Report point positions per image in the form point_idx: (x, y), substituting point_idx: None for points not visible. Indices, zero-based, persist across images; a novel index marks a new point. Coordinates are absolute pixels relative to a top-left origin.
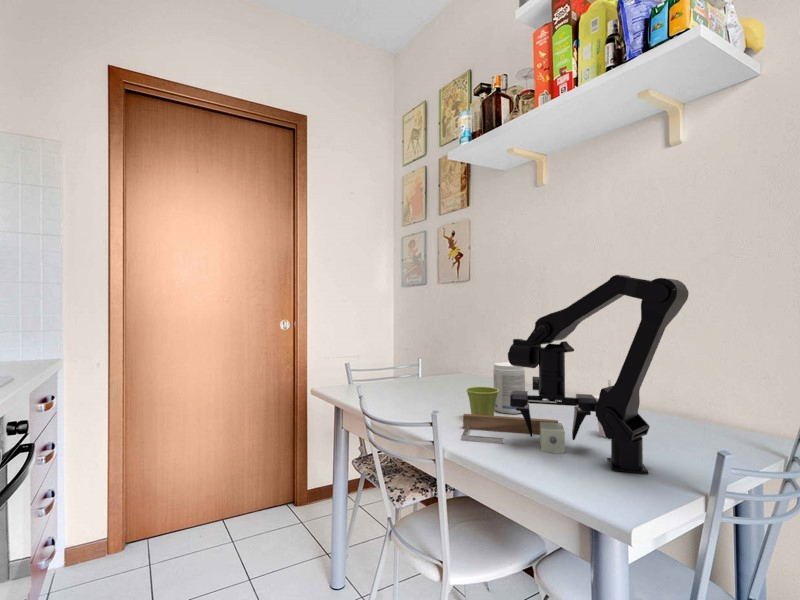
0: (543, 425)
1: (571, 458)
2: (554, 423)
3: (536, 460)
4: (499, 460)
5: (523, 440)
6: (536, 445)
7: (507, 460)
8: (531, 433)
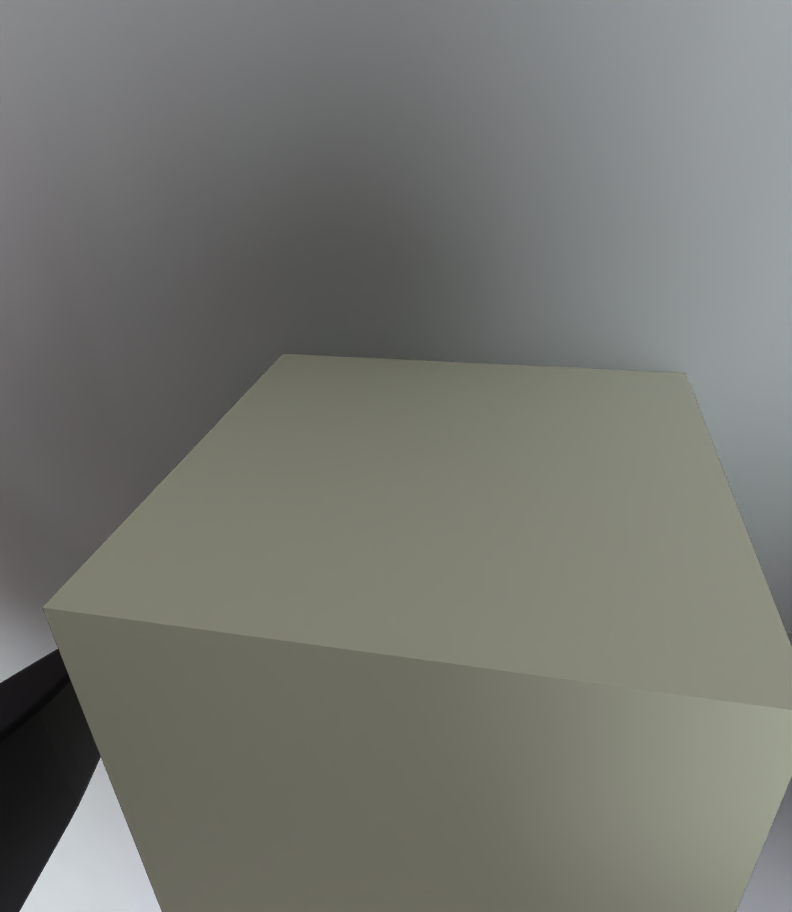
0: (207, 872)
1: None
2: (506, 743)
3: None
4: (41, 876)
5: (22, 320)
6: None
7: (91, 878)
8: (89, 750)
